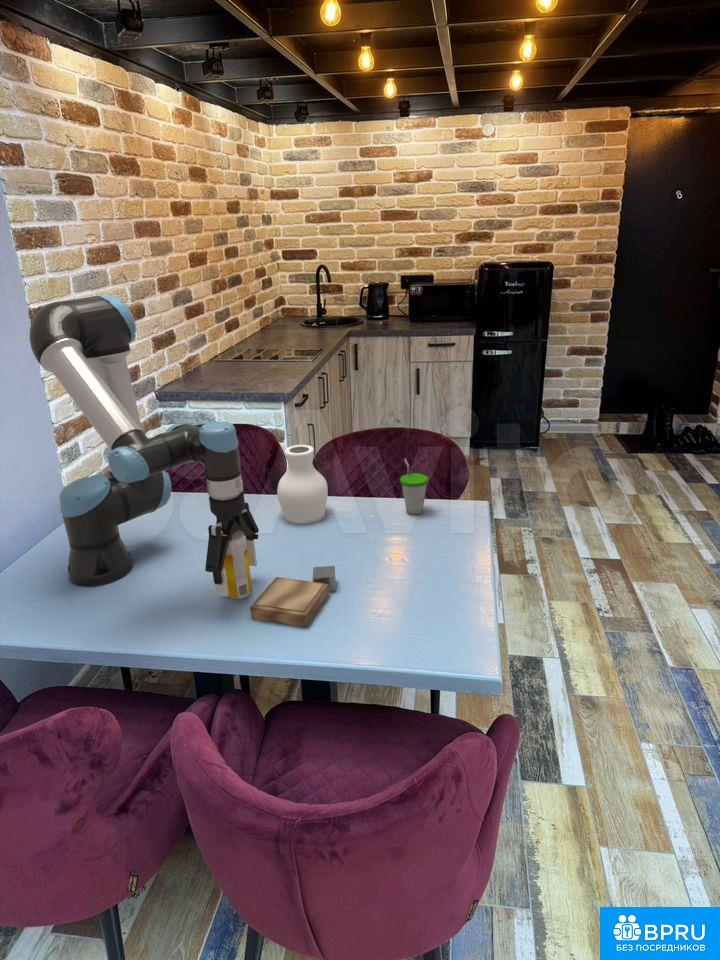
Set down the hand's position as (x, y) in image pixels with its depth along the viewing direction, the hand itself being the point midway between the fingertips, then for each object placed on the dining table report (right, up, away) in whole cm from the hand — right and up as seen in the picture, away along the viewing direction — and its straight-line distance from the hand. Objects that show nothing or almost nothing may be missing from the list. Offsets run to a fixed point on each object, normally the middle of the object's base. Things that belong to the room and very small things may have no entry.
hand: (237, 579), depth 156 cm
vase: (+12, +12, +40) cm, 43 cm away
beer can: (0, -4, +2) cm, 4 cm away
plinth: (+13, -5, -5) cm, 15 cm away
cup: (+43, +13, +38) cm, 59 cm away
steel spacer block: (+20, -2, +3) cm, 20 cm away
